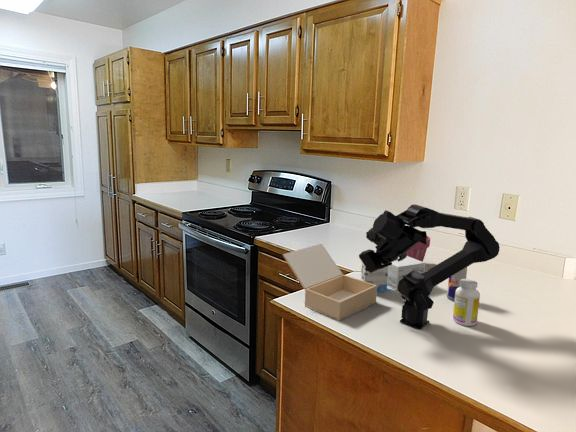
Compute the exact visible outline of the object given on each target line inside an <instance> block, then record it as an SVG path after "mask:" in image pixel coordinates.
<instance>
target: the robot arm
mask: <svg viewBox="0 0 576 432" xmlns="http://www.w3.org/2000/svg"><path fill="white" fill-rule="evenodd" d="M417 227H419V228H420V229H434V228H436V227H438V228H439V227H443V228H447V229H449V228H450V229H454V230H455V229H456V230H461V231H464V233H465V234H464V236H465V238H466V242H465V243H464V245H463V247H462V248H461V250H460V251H457V252H456V253H454V254H453V255H451V256H449V257H448V258H446V259H444V260H442V261H441V262H439V263H437V264H436V265H434V266H433V267H431V268H429V269H427V270H426V271H425V272H424V273H418V272H416V271H415V270H413V271H411V272H410V273H409V274H407V275H405V276H402V277H403V278H402V279H401V280H400V281H399V284H398V288H397V289H398V290H397V292H398V293H399V294H400V295H401V299H402V300H404V301H403V305H402V306H401V319H400V320H399V322H400V323H402V324H405V325H406V326H409V327H411V328H414V329H417V330H422V329H423V328H424V327H425V326H427V325H428V324H429V323H430V321H429V320H428V317H429V316H428V314H429V310H431V309H432V308H433V306H434V300H433V299H432V298H431V297H430V295H431V294H432V291H433V289H434V288H435V287H436V286H438V285H439V284H441V283H443V282H444V281H446V280H449V277H451V276H453V275H454V274H456V273H458V272H459V271H461V270H463V269H464V268H466V267H469V266H471V265H473V264H476V263H477V264H478V263H484V262H487V261H489V260H492V259H495V258H497V256H498V255H499V252H500V243H499V242H498V241H497V239H496V238H495V236H494V234H492V233H491V231H489V229H487V227H486V225H485V222H484V221H482V219H480V218H476V217H472V216H462V215H456V214H452V213H451V214H450V213H444V212H439V211H436V210H434V209H431V208H429V207H426V206H422V205H418V204H410V206H409V207H407V209H406V210H404V211H402V212H400V213H399V214H397V215H396V214H394V213H393V212H391V211H389V210H387V209H385V210H384V211H383V213H381V214H380V215H378V216H377V217H376V218H375V219H374V221H373V225H372V227H371V228H370V229H369V230H368V231H366V233H365V235H366V239H367V241H368V240H369V242H371V243H373V244H375V246H374V247H375V249H376V250H373V249H370V248H369V249H366V250H363V251H362V252H361V253H359V255H358V257H359V260H360V261H361V263H362V262H363V264H364V265H365V270H366V271H368V272H370V273H372V272H375V271H377V270H378V269H382V268H385V267H387V266H390V265H392V262H393V261H396V260H397V259H398V257H399V259H398V260H397V261H398V262H399V261H402V260H403V259H405V258H406V257H407V252H408V250H409V249H410V248H411V247H413V246H414V245H415V244H417V243H418V242H421V243H423V244H427V242H426V239H427V236H428V235H427V231H425V230H420V229H418V228H417Z"/></svg>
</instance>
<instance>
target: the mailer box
mask: <svg viewBox="0 0 576 432" xmlns="http://www.w3.org/2000/svg"><path fill="white" fill-rule="evenodd" d="M304 291H305V292H304V307H306V308H307V309H310V310H312V311H314V312H316V313H320V314H321V315H324V316H325V317H328V318H331V319H332V320H336V321H337V322H340V321H342V320H344V319H346V318H348V317H350V316H352V315H354V314H356V313H358V312H360V311H362V310H364V309H366V308H368V307H370V306H372V305H373V304H376V303H377V293H378V292H377V285H374V284H371V283H368V282H365V281H362V280H361V279H358V278H354V277H353V276H349V275H346V274H343V275H341V276H338V277H336V278H333V279H331V280H328V281H325V282H323V283H320V284H317V285H315V286H312V287H309V288H307V289H305V290H304Z"/></svg>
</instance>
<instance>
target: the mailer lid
mask: <svg viewBox="0 0 576 432" xmlns="http://www.w3.org/2000/svg"><path fill="white" fill-rule="evenodd" d="M282 256H283V258H284V260H285V261H286V263H287V264H288V267H289V268H290V269H291V271H292V272H293V274H294V276H295V277H296V279H297V281H298V282H299V284H300V285H301V286H302V288H303V290H304V291H305V289H307V288H309V287H312V286H315V285H317V284H320V283H323V282H325V281H328V280H331V279H333V278H336V277H338V276H341V275H344V274H343V272H342V270H341V269H340V268H339V266H338V265H337V263H336V262H335V261H334V260H333V258H332V256H331V255H330V253H329V252H328V250H327V249H326V248H325V246H324V245H323V243H318V244H316V245H312V246H307V247H305V248H301V249H298V250H297V249H296V250H293V251H290V252H287V253H283V254H282Z"/></svg>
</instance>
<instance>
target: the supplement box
mask: <svg viewBox="0 0 576 432" xmlns="http://www.w3.org/2000/svg"><path fill="white" fill-rule="evenodd" d="M398 259H399V257H398ZM398 259H397V260H398ZM397 260H396V261H393V262H392V265H390V266H388V277H387V287H389V288H391V289H393V290H395V291H397V292H398V289H397V288H398V284H399V281H400V280H401V279H402V278H403V277H402V276H405V275H407V274H409V273H410V272H411V271H413V270H415V271H416V272H418V273H424V272H426V271H425V270H426V262H425V261H423V262H422V261H419V260H416V259H414V258H411V257H409V256H407V257H406V258H405V259H403V260H402V261H399V262H398V261H397Z"/></svg>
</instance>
